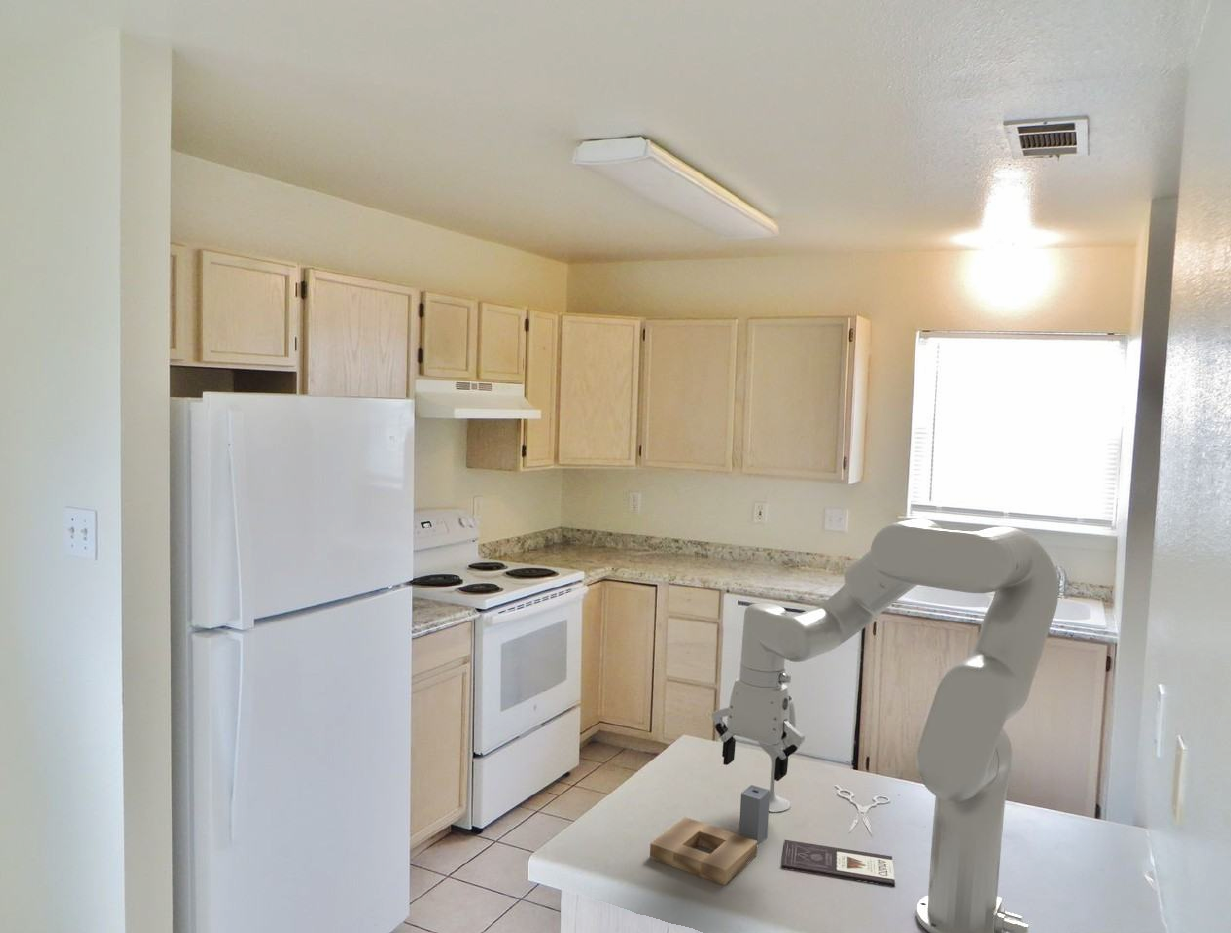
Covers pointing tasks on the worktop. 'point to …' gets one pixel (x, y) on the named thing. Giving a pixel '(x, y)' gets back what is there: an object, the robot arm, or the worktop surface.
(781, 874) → the worktop surface
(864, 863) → the chocolate bar
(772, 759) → the wineglass
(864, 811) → the scissors
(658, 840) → the socket board
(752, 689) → the robot arm
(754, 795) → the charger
